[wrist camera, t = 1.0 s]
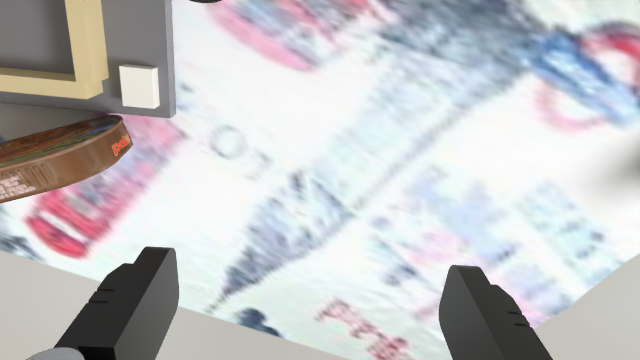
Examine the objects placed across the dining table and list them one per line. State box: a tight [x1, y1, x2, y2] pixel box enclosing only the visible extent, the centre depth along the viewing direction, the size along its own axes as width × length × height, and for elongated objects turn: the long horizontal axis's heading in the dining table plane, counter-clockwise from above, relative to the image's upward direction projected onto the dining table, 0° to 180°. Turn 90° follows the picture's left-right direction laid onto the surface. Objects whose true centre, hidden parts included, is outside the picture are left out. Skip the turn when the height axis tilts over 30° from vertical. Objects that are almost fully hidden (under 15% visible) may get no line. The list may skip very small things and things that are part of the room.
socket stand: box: [0, 0, 176, 118], centre depth 29 cm, size 14×20×4 cm
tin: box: [0, 115, 133, 203], centre depth 31 cm, size 15×3×8 cm, turn 104°
